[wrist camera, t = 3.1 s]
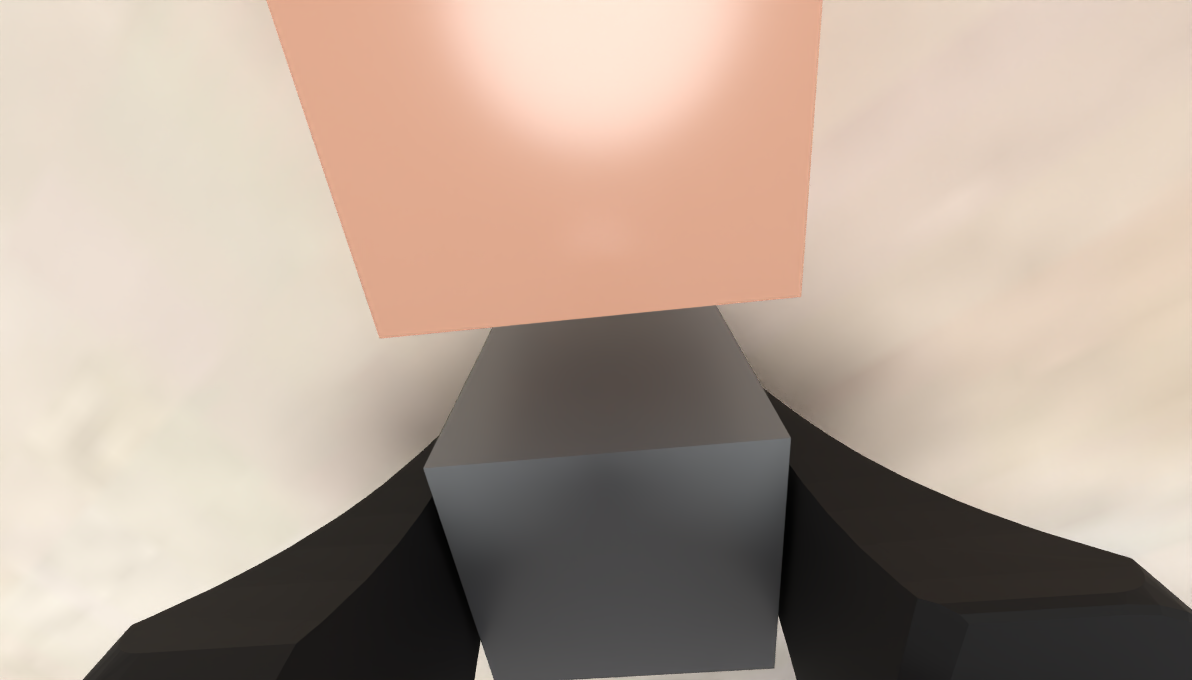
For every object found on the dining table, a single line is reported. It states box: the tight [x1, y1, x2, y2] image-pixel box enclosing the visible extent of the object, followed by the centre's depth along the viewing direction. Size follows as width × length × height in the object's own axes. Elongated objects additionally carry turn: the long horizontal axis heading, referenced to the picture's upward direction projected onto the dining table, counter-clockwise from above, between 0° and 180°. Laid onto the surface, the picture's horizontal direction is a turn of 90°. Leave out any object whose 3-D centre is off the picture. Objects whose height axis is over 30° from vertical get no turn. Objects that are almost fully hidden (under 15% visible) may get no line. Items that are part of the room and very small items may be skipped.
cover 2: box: [423, 305, 791, 680], centre depth 10 cm, size 5×5×6 cm
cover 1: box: [267, 0, 822, 338], centre depth 7 cm, size 5×5×6 cm
